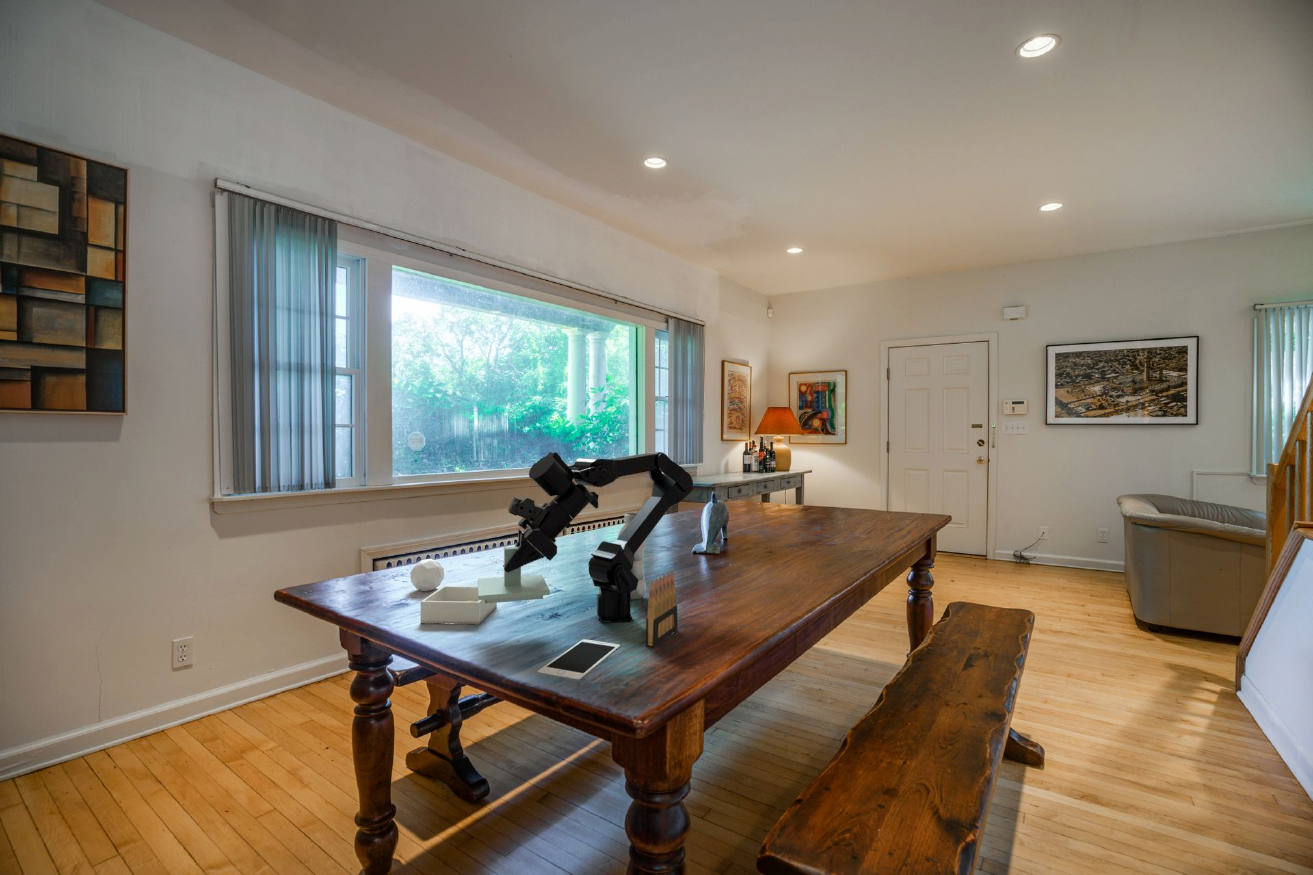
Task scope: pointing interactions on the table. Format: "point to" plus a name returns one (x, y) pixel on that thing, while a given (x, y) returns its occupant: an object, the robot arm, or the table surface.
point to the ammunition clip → (661, 610)
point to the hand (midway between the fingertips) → (505, 569)
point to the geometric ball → (427, 575)
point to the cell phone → (579, 659)
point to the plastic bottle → (636, 562)
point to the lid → (512, 585)
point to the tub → (455, 606)
